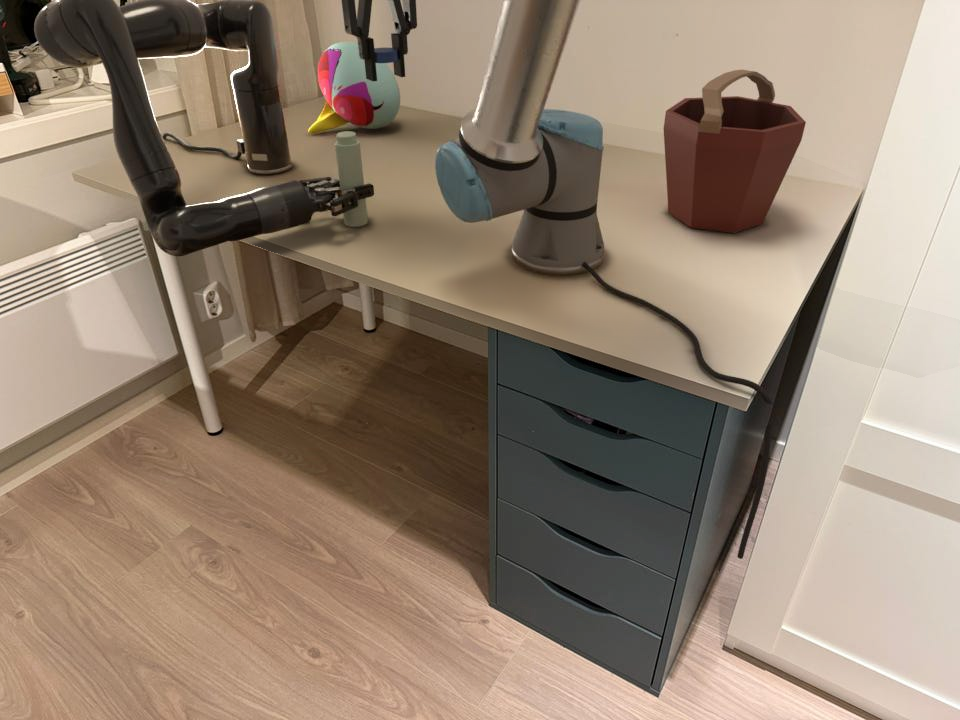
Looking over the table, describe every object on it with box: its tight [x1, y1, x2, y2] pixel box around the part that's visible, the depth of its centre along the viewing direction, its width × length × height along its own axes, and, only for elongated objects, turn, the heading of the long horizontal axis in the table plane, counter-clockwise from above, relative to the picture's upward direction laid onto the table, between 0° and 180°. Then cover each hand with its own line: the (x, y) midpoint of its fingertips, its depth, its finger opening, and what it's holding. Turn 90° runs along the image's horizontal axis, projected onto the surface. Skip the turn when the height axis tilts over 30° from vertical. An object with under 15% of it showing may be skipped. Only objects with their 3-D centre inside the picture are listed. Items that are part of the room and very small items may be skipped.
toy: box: [307, 41, 401, 134], centre depth 176 cm, size 24×24×20 cm
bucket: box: [663, 69, 807, 234], centre depth 125 cm, size 24×22×25 cm
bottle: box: [334, 130, 369, 228], centre depth 126 cm, size 4×4×16 cm
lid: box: [374, 47, 398, 64], centre depth 118 cm, size 5×5×2 cm
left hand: (365, 185), depth 128 cm, fingers closed on bottle, 4 cm apart
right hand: (385, 77), depth 120 cm, fingers closed on lid, 5 cm apart
